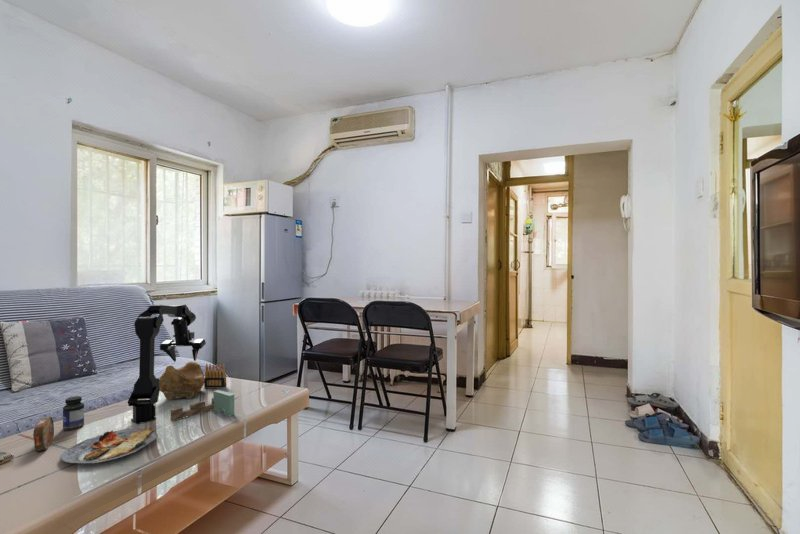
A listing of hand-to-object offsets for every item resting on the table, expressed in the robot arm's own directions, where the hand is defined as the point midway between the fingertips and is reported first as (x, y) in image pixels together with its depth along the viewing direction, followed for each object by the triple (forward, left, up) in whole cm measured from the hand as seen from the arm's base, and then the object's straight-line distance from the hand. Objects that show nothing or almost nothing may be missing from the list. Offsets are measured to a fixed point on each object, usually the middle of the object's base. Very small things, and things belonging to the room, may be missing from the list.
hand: (185, 361), depth 187 cm
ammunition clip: (+14, -2, -16) cm, 21 cm away
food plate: (-43, -43, -16) cm, 63 cm away
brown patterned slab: (-55, -20, -16) cm, 61 cm away
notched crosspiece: (-4, -41, -15) cm, 44 cm away
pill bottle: (-44, -8, -16) cm, 48 cm away
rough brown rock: (-1, -4, -16) cm, 16 cm away
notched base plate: (-10, -32, -15) cm, 37 cm away
